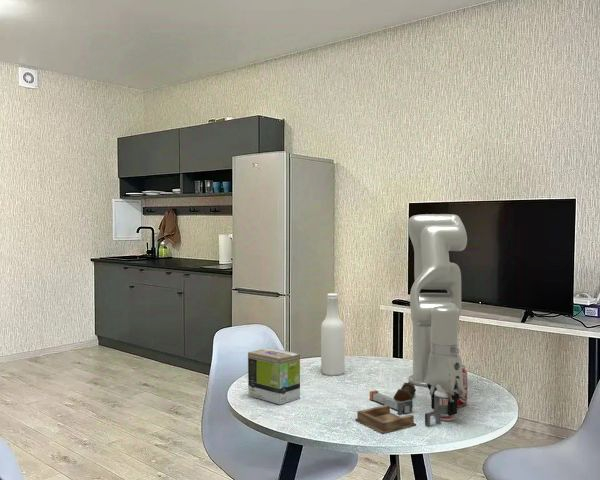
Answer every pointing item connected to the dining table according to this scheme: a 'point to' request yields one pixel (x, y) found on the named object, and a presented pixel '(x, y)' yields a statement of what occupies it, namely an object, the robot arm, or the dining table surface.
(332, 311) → the alcohol
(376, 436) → the dining table surface
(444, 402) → the pill bottle
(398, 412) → the pin lugs
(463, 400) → the soda can
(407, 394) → the bolt
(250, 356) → the tea box
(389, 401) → the pin
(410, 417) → the dock
